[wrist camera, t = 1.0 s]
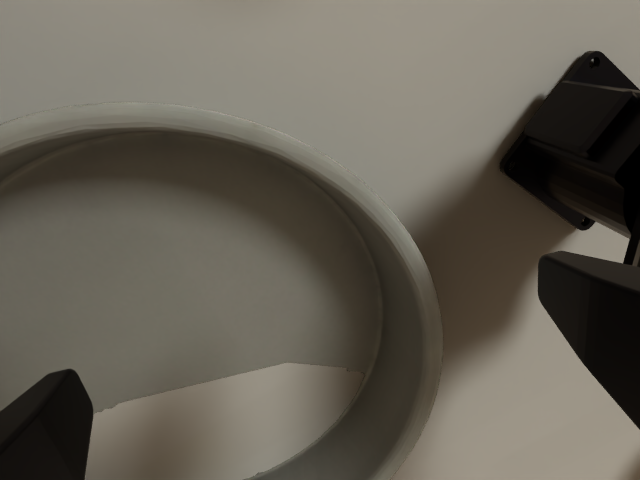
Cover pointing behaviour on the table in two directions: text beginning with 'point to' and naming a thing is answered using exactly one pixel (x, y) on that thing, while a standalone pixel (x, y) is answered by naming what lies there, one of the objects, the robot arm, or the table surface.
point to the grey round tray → (210, 271)
